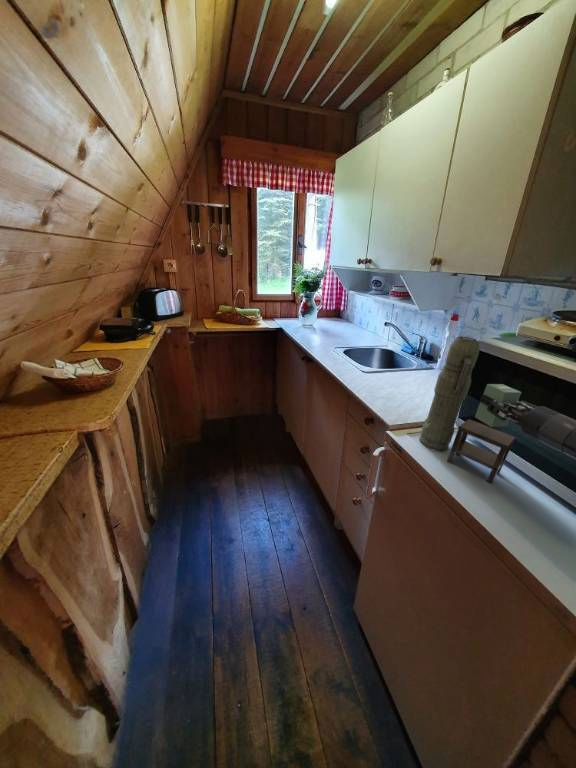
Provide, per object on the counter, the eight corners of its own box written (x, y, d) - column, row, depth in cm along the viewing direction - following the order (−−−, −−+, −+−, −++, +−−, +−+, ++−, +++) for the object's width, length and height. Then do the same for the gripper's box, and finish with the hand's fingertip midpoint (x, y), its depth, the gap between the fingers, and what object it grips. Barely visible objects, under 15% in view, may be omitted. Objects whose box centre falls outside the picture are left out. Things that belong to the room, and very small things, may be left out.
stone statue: (440, 435, 105) (473, 335, 92) (454, 455, 94) (494, 345, 81) (414, 432, 105) (443, 332, 93) (425, 451, 94) (461, 341, 82)
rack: (499, 472, 88) (515, 437, 84) (491, 483, 83) (507, 446, 78) (456, 452, 96) (468, 419, 91) (446, 461, 91) (459, 426, 86)
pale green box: (489, 416, 87) (503, 383, 83) (507, 426, 82) (521, 391, 78) (474, 417, 85) (487, 383, 82) (491, 427, 80) (505, 391, 77)
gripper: (583, 414, 69) (515, 385, 84) (537, 415, 65) (474, 385, 80) (568, 442, 72) (505, 409, 87) (523, 445, 68) (464, 410, 83)
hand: (490, 398), depth 84 cm, fingers closed on pale green box, 5 cm apart
